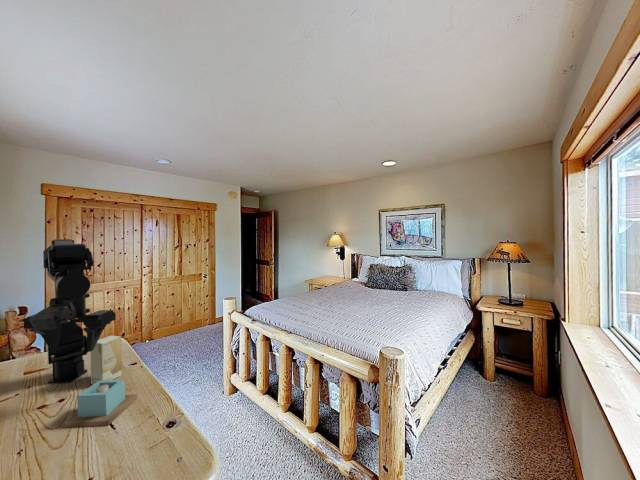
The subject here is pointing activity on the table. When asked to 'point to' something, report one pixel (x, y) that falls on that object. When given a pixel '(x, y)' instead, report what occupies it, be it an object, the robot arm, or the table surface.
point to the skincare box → (106, 359)
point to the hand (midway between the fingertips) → (72, 351)
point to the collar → (101, 399)
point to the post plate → (100, 420)
